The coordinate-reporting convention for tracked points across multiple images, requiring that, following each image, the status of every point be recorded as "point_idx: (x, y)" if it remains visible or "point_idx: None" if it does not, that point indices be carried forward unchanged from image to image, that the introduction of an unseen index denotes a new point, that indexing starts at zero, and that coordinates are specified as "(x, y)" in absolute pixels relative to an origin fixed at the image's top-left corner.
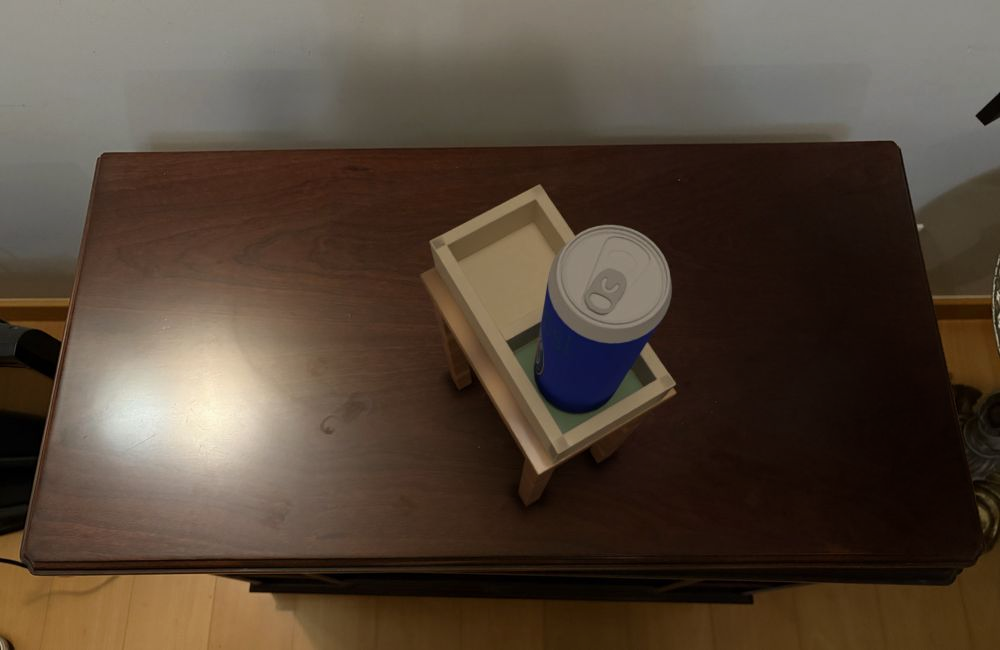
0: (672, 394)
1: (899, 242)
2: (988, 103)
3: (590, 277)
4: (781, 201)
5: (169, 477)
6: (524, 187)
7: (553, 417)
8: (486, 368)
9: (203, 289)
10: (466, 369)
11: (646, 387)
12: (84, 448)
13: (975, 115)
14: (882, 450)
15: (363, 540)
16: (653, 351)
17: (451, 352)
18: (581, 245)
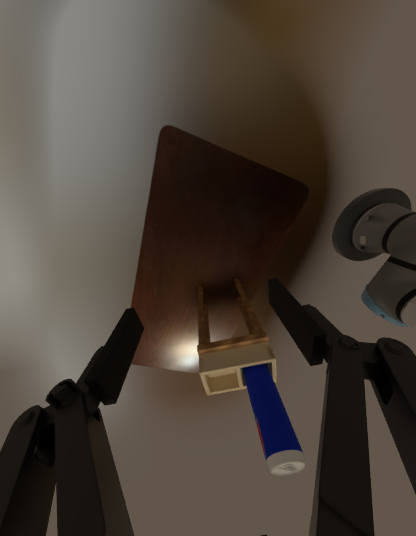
0: (267, 338)
1: (206, 146)
2: (274, 310)
3: (284, 469)
4: (174, 189)
5: None
6: (149, 275)
7: None
8: None
9: (163, 349)
10: (207, 314)
11: (272, 364)
12: (193, 368)
13: (269, 302)
14: (272, 201)
15: (232, 329)
16: (264, 360)
17: (209, 332)
18: (274, 470)
